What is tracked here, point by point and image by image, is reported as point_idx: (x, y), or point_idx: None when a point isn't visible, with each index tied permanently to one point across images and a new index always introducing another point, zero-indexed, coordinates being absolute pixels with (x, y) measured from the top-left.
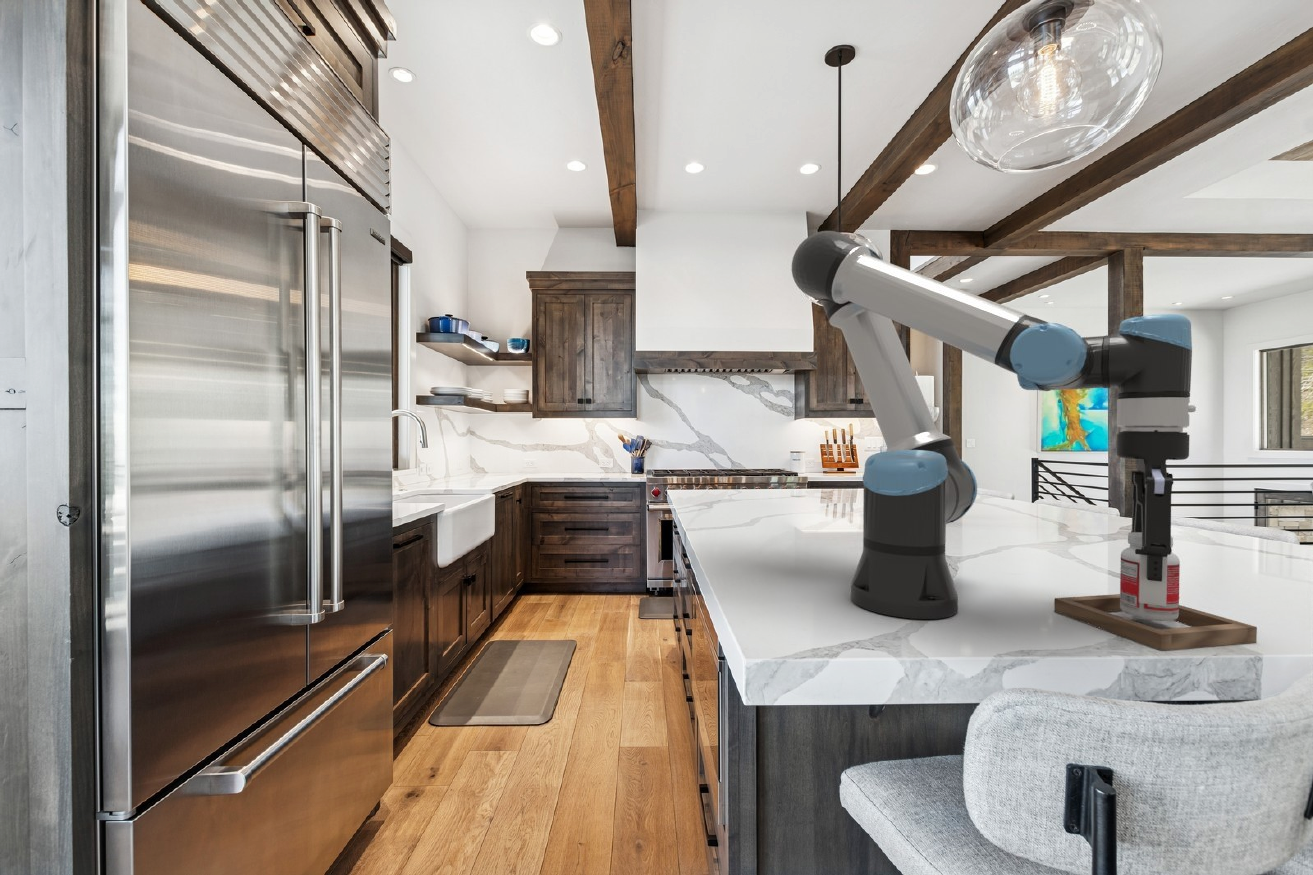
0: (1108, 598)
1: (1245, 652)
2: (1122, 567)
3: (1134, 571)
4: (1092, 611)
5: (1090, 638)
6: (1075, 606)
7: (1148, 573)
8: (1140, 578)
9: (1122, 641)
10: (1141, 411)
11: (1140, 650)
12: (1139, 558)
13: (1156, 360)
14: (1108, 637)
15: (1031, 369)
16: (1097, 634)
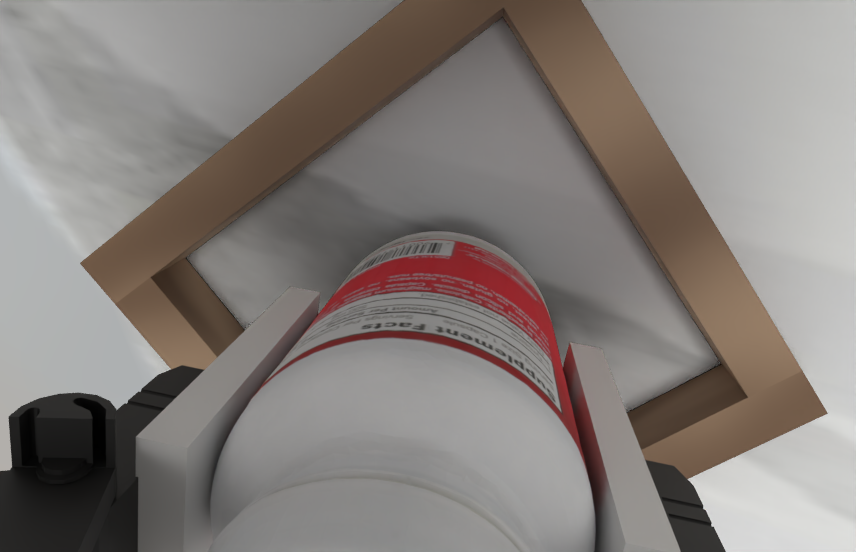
0: (643, 230)
1: None
2: (394, 309)
3: (295, 348)
4: (319, 71)
5: (132, 15)
6: (401, 4)
7: (148, 388)
8: (232, 343)
9: (165, 140)
10: None
11: (87, 174)
12: (236, 425)
13: None
14: (190, 98)
15: None
16: (210, 62)
